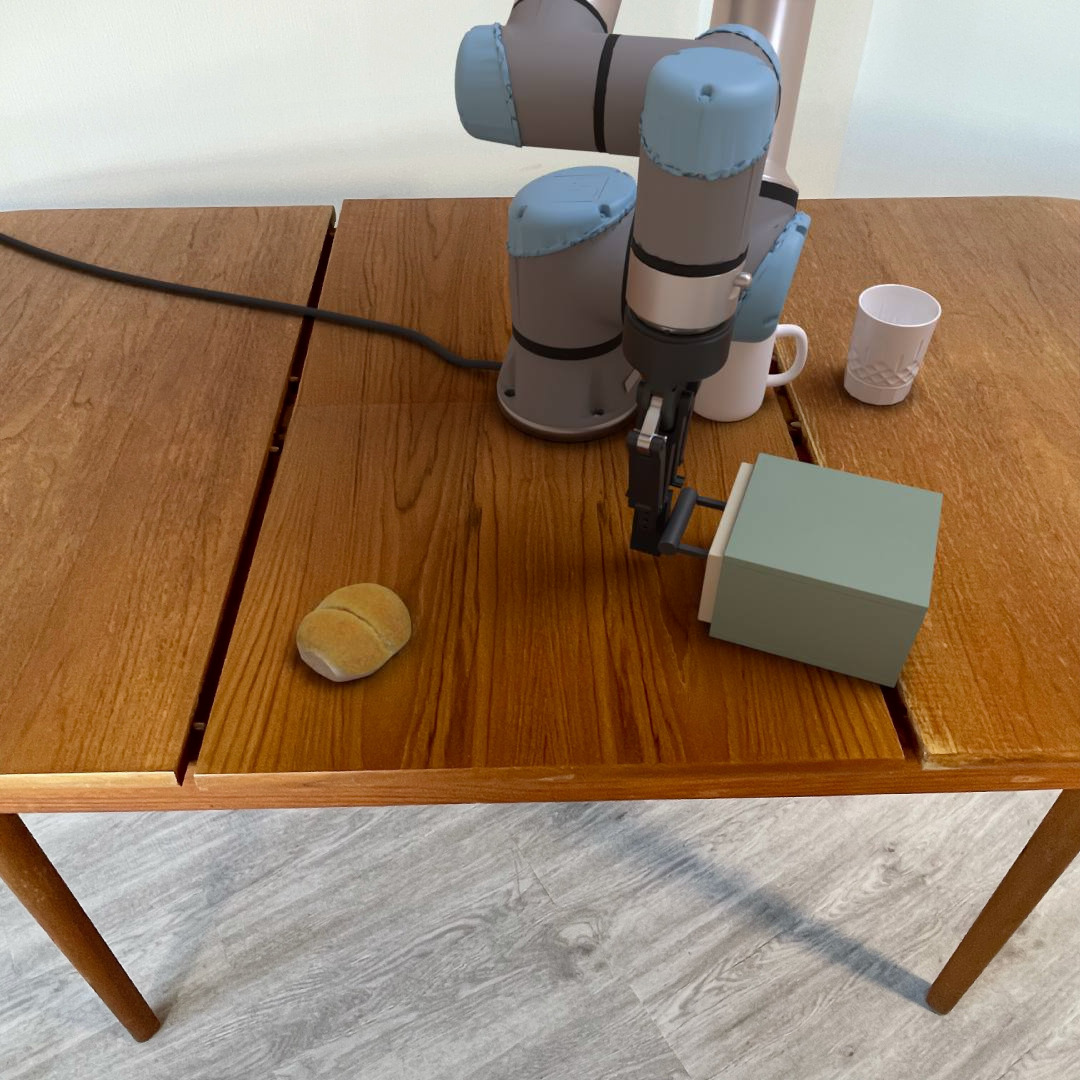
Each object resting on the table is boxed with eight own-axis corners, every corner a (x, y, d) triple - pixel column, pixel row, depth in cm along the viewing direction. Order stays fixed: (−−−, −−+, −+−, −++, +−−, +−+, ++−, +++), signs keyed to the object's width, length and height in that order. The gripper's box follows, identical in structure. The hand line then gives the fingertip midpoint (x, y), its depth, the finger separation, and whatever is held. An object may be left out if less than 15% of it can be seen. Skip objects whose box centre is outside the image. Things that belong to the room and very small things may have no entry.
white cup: (916, 413, 95) (945, 329, 88) (838, 405, 96) (860, 322, 89) (910, 369, 101) (937, 287, 94) (836, 362, 102) (857, 280, 95)
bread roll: (430, 626, 76) (425, 594, 74) (355, 700, 71) (346, 669, 69) (358, 583, 80) (350, 551, 77) (281, 651, 75) (270, 619, 72)
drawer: (645, 605, 77) (652, 539, 71) (681, 515, 84) (690, 449, 78) (867, 666, 72) (892, 601, 66) (884, 566, 79) (909, 499, 74)
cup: (678, 376, 100) (688, 293, 93) (789, 375, 100) (807, 291, 93) (688, 424, 95) (698, 339, 87) (805, 422, 95) (825, 337, 87)
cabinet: (708, 636, 75) (723, 554, 68) (742, 533, 83) (759, 452, 77) (893, 688, 71) (928, 607, 65) (910, 575, 80) (943, 493, 73)
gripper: (710, 371, 58) (667, 613, 74) (756, 272, 66) (708, 510, 83) (596, 344, 59) (580, 587, 76) (655, 251, 68) (629, 488, 85)
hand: (647, 546), depth 80 cm, fingers closed
